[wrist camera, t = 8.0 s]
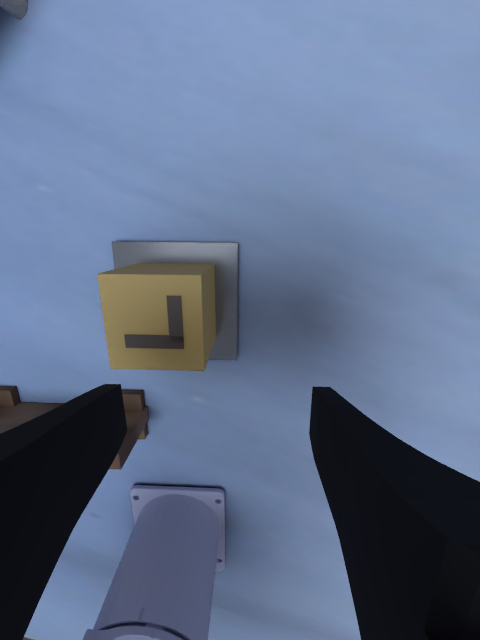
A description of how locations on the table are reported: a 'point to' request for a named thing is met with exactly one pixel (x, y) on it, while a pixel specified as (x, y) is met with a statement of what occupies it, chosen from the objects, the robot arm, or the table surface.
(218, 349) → the coaster
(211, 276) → the cube
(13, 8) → the dog figurine
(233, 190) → the table surface
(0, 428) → the wooden board
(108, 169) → the table surface
